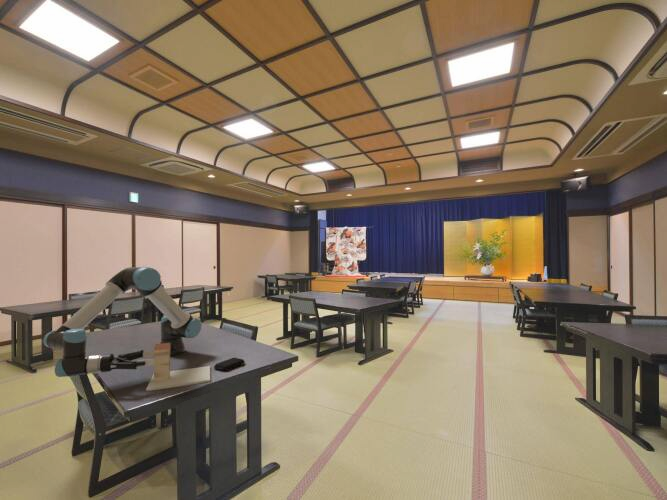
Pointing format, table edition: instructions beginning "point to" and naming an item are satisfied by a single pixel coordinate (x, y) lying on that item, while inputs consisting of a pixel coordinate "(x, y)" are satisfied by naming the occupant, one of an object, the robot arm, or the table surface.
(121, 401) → the table surface
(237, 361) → the carrying case or bag
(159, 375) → the birch block
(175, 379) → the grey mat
